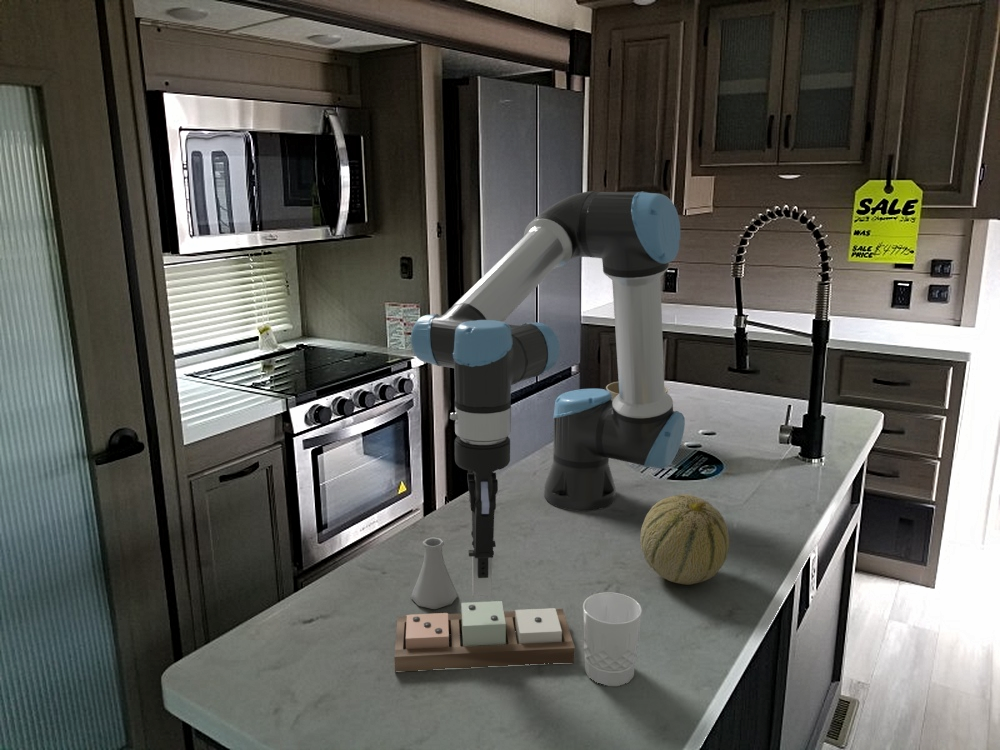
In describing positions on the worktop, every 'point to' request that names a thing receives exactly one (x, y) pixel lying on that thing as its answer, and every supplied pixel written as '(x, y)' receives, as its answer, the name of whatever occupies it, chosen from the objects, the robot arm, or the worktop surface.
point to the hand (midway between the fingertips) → (482, 593)
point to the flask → (434, 578)
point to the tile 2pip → (483, 623)
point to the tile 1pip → (537, 626)
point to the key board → (482, 649)
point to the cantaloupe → (684, 539)
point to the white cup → (611, 637)
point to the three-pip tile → (427, 631)
